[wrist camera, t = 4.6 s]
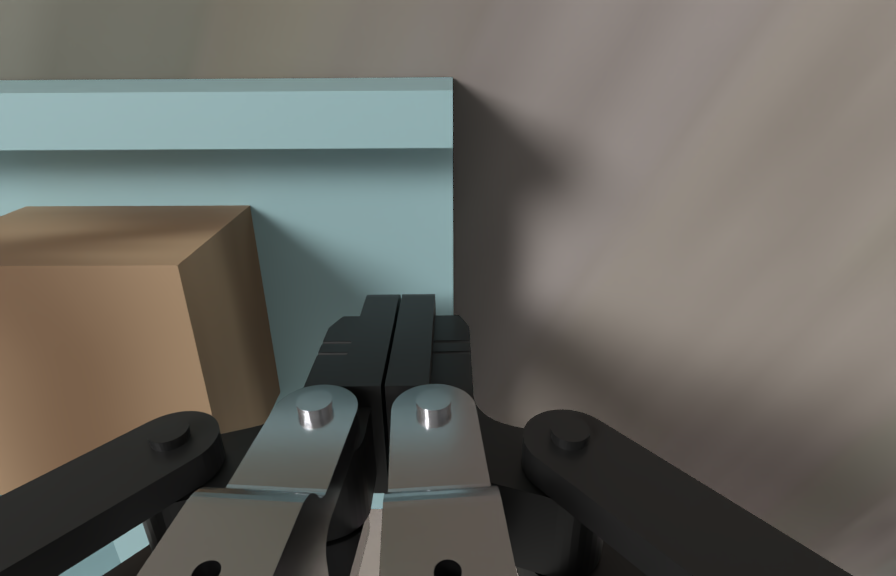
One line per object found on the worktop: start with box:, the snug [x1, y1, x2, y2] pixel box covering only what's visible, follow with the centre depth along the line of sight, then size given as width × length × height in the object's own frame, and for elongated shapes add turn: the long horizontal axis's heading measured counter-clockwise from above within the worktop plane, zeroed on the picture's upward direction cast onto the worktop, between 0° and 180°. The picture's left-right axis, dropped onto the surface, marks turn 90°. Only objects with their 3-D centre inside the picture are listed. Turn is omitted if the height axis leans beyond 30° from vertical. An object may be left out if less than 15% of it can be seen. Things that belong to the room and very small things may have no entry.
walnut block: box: [0, 205, 280, 495], centre depth 12 cm, size 5×5×4 cm
